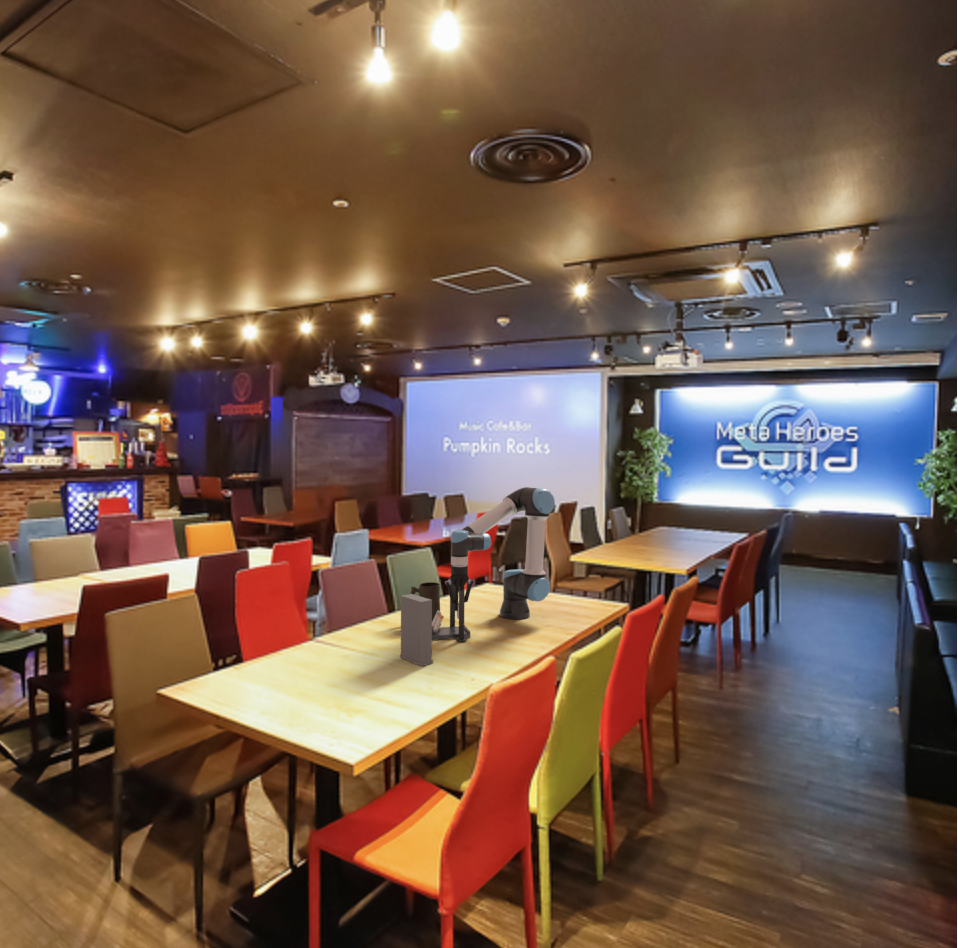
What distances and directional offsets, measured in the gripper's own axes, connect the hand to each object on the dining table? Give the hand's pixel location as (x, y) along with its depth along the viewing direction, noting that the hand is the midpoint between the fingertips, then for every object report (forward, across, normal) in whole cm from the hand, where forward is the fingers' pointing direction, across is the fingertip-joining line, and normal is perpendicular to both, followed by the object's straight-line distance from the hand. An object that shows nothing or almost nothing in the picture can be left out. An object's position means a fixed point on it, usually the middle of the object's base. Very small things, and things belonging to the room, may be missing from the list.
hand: (459, 617), depth 288 cm
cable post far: (+8, +1, -10) cm, 12 cm away
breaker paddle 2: (+5, +11, 0) cm, 12 cm away
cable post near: (+8, +1, +8) cm, 12 cm away
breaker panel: (+8, +8, -2) cm, 11 cm away
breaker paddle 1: (+5, +11, -6) cm, 13 cm away
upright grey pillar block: (+8, +24, +30) cm, 39 cm away
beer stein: (+8, +12, -20) cm, 25 cm away
